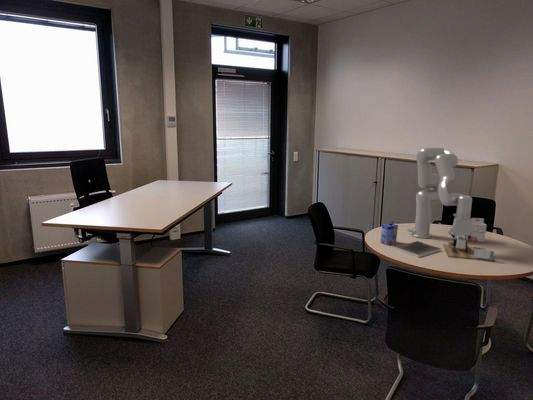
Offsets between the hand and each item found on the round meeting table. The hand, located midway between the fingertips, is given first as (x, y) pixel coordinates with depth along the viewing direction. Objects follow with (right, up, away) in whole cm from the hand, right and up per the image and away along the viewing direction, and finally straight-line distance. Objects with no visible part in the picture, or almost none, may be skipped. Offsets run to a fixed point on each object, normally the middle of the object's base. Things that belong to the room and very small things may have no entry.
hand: (459, 245), depth 237 cm
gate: (+6, -6, -14) cm, 16 cm away
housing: (+3, -4, -2) cm, 6 cm away
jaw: (0, -1, 0) cm, 1 cm away
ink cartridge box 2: (+22, 0, +22) cm, 31 cm away
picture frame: (-25, -4, +2) cm, 25 cm away
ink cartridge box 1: (-38, -1, +16) cm, 41 cm away
